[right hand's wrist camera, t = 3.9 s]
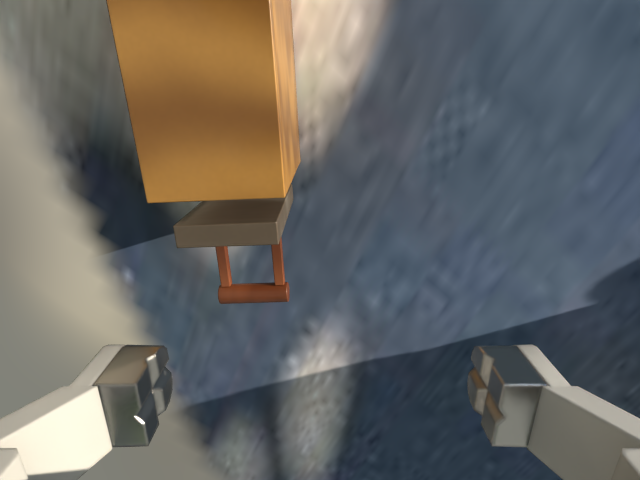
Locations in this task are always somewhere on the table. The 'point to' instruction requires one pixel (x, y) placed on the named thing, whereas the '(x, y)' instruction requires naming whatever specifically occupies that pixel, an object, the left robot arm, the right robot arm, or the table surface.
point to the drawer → (240, 241)
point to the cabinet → (210, 96)
